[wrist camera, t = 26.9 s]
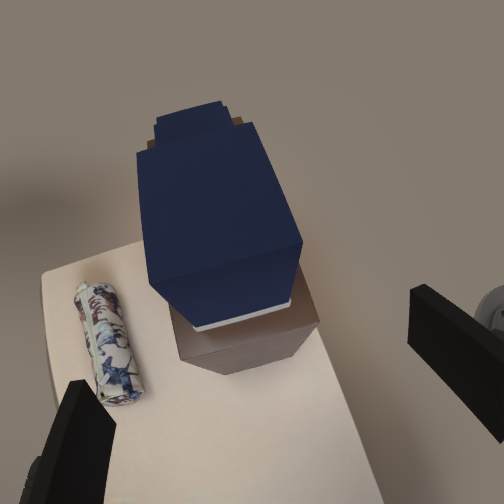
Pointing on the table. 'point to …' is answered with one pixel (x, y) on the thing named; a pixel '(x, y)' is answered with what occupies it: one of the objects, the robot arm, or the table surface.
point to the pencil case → (108, 345)
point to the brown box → (248, 331)
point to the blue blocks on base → (215, 219)
